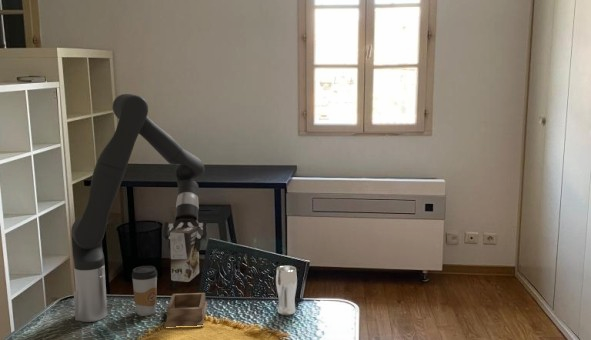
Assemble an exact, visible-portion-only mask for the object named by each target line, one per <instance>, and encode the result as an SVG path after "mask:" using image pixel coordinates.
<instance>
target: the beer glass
mask: <svg viewBox="0 0 591 340" xmlns="http://www.w3.org/2000/svg"><path fill="white" fill-rule="evenodd" d="M297 273H298V272H297V267H295V266H293V265H280V266H277V267H276V275H275V284H276V292H277V296H278V307H277V313H278V314H279V315H282V316H283V315H284V316H290V315H294V314H295V313H296V304H295V298H296V293H297V286H298V277H297Z"/></svg>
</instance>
